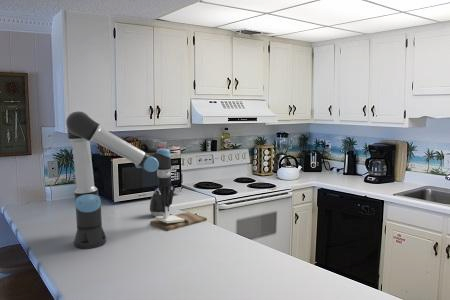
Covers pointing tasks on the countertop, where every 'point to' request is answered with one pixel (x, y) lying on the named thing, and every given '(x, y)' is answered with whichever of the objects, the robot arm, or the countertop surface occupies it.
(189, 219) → the walnut board
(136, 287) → the countertop surface
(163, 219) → the tile
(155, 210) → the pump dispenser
